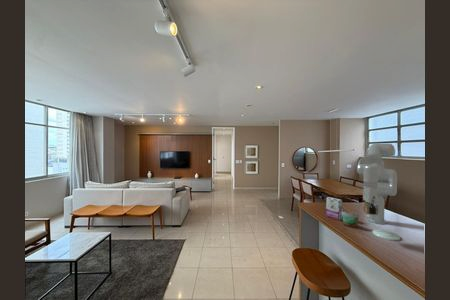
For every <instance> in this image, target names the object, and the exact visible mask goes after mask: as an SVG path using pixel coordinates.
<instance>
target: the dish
mask: <svg viewBox="0 0 450 300" xmlns="http://www.w3.org/2000/svg"><path fill="white" fill-rule="evenodd" d="M372 235H374V236H375V237H377V238H380V239H381V240H386V241H393V242H394V241H395V242H397V241H400V240H401V237H400V235H399V234H398V233H395V232H394V231H393V232H392V231H390V230H386V229H378V228H376V229H373V230H372Z"/></svg>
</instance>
